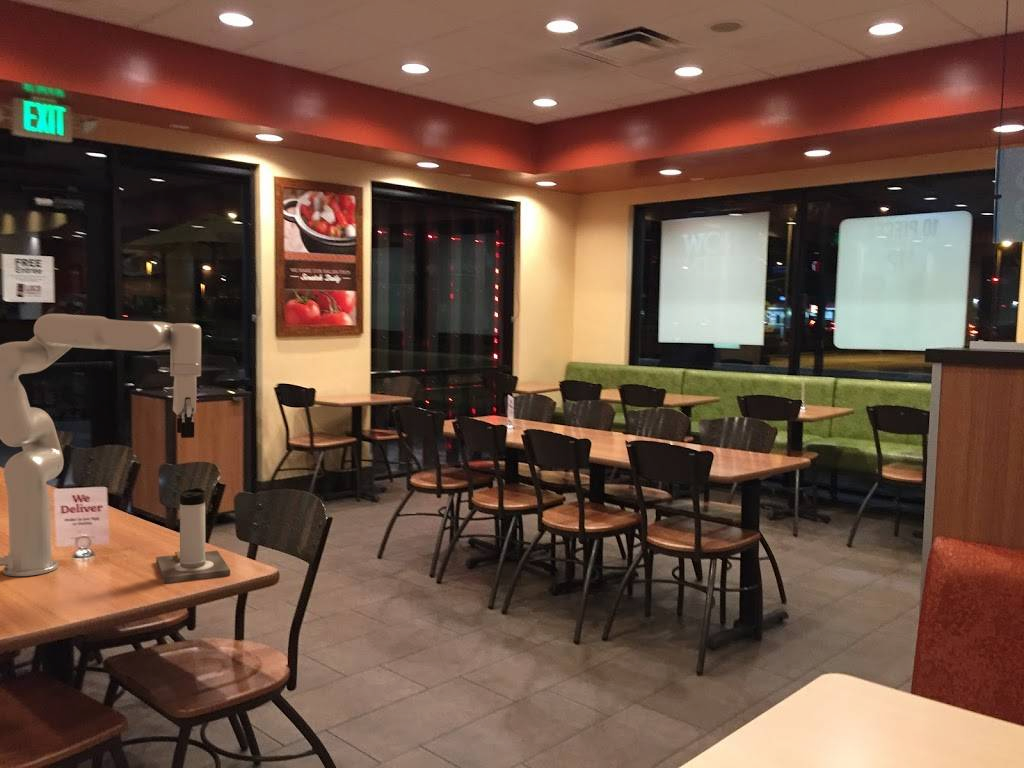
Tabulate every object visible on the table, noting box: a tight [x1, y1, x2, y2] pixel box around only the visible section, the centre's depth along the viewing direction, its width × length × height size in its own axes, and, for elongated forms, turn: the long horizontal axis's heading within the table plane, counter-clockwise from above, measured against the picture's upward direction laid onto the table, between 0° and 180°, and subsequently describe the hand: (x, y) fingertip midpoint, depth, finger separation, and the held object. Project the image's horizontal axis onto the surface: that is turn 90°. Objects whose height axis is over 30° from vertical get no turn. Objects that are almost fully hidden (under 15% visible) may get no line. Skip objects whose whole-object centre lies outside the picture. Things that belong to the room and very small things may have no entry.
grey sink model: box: [155, 550, 231, 584], centre depth 225 cm, size 16×20×6 cm
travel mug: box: [179, 487, 206, 568], centre depth 222 cm, size 6×7×20 cm
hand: (185, 435), depth 222 cm, fingers open, 9 cm apart
